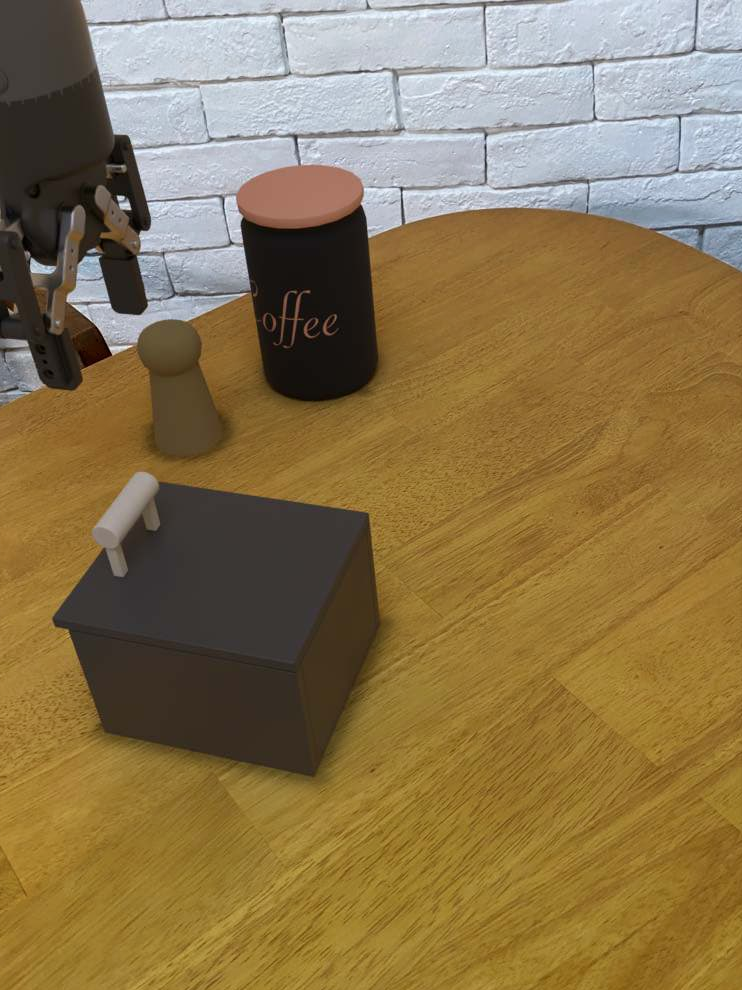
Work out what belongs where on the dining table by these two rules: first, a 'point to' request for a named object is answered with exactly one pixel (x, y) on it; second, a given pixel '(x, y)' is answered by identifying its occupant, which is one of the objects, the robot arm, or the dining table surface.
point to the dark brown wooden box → (240, 686)
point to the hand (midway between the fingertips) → (99, 347)
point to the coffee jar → (310, 279)
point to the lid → (213, 572)
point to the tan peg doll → (178, 389)
